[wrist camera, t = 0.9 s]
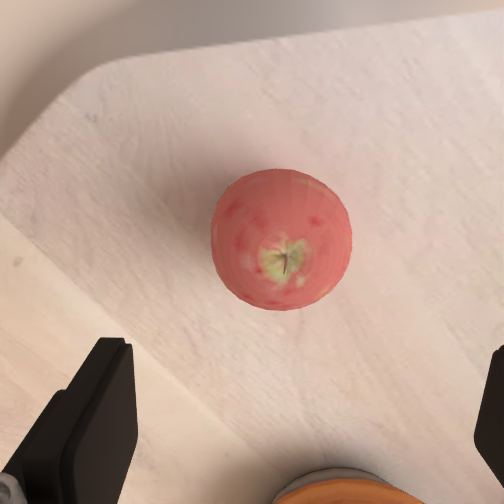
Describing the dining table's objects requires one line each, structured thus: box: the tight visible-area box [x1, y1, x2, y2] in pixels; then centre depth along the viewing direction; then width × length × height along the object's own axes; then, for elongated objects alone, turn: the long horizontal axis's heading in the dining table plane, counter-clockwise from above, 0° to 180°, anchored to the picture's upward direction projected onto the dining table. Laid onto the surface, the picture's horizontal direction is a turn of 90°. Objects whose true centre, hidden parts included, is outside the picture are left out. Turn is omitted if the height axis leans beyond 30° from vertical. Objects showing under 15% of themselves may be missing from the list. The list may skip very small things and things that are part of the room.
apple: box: [211, 169, 352, 311], centre depth 22 cm, size 7×7×8 cm
